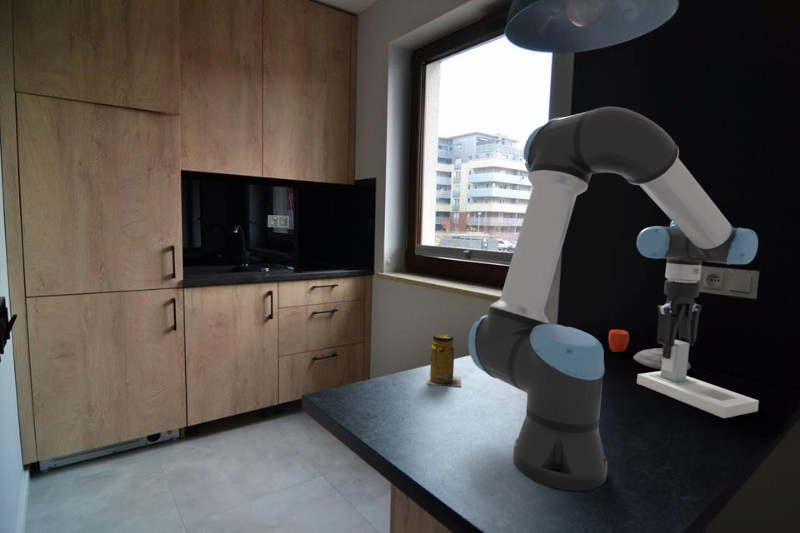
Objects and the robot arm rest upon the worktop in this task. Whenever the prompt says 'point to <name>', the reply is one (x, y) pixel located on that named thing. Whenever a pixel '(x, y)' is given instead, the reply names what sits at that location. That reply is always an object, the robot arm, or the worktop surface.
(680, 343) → the plug
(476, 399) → the worktop surface
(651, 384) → the panel
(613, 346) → the apple
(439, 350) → the condiment
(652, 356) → the flying saucer
